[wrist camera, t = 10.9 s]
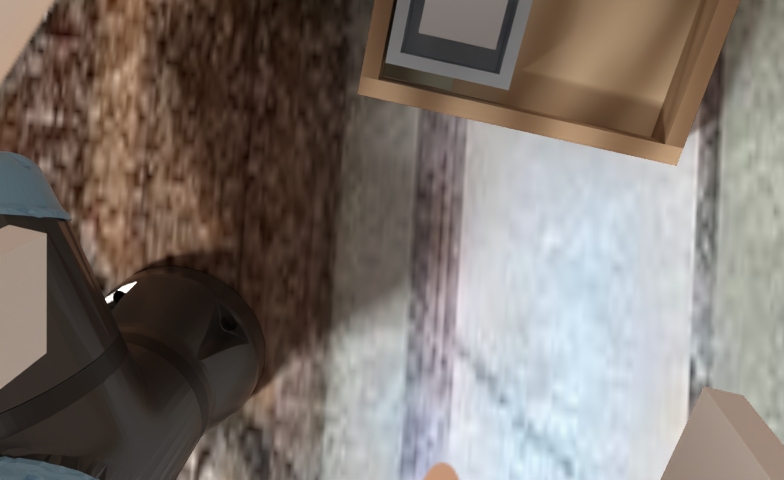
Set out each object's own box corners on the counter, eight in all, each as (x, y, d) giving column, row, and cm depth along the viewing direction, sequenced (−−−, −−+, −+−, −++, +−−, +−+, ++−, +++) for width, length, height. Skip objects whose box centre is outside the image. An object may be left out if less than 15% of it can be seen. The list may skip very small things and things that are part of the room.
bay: (366, 88, 44) (357, 93, 40) (402, -106, 39) (396, -123, 35) (654, 153, 43) (676, 165, 39) (724, -36, 39) (757, -45, 35)
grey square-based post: (391, 59, 41) (359, 73, 27) (416, -65, 38) (395, -125, 24) (502, 84, 41) (530, 111, 27) (535, -39, 38) (586, -83, 24)
